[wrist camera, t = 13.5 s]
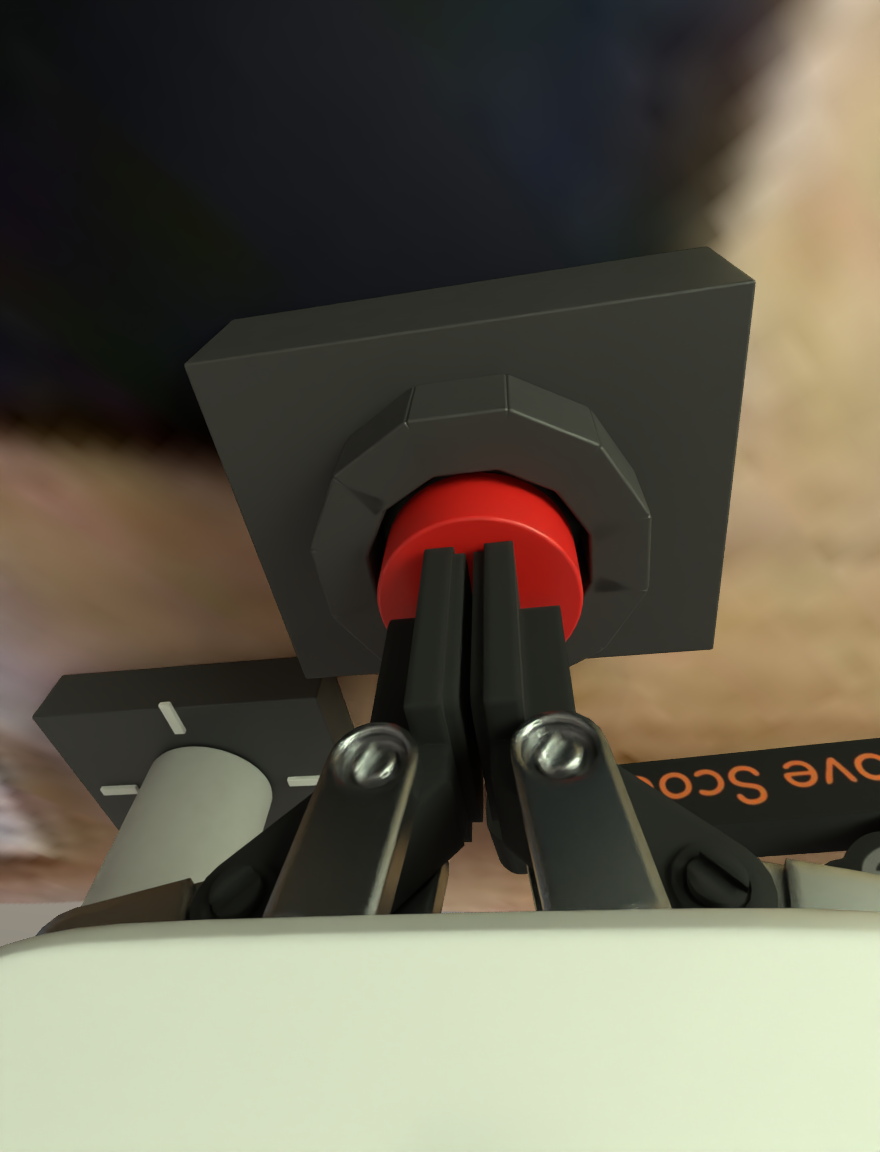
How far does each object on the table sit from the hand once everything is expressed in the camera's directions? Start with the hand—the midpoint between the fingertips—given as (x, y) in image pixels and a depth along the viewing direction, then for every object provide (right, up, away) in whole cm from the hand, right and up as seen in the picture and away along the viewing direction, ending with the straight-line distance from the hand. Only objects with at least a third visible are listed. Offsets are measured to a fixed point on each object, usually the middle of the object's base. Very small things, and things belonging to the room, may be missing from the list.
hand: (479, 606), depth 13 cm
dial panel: (-9, -6, +13) cm, 16 cm away
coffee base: (0, +4, +5) cm, 6 cm away
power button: (0, +1, +1) cm, 2 cm away
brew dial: (-9, -7, +11) cm, 16 cm away
